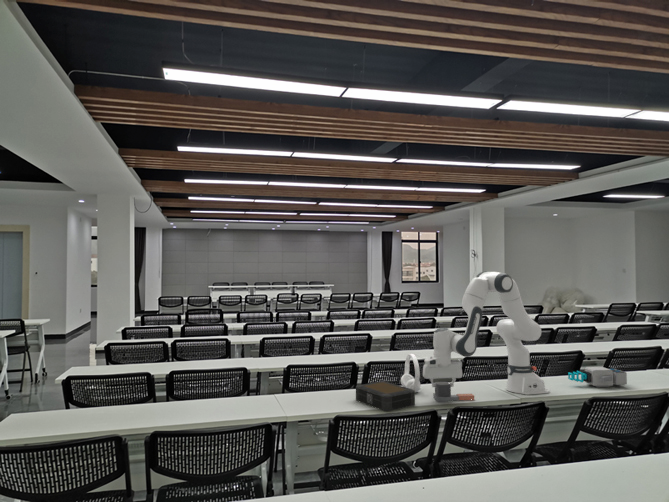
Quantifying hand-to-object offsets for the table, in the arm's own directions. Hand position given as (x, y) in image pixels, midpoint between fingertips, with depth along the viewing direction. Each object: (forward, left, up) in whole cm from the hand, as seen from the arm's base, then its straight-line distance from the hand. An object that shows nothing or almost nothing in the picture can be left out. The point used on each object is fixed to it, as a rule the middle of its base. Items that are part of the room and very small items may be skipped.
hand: (442, 386), depth 238 cm
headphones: (+12, -21, -7) cm, 25 cm away
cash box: (+31, +3, -7) cm, 32 cm away
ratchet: (-6, 0, -7) cm, 9 cm away
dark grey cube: (0, 0, -4) cm, 4 cm away
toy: (-96, -21, -7) cm, 98 cm away
